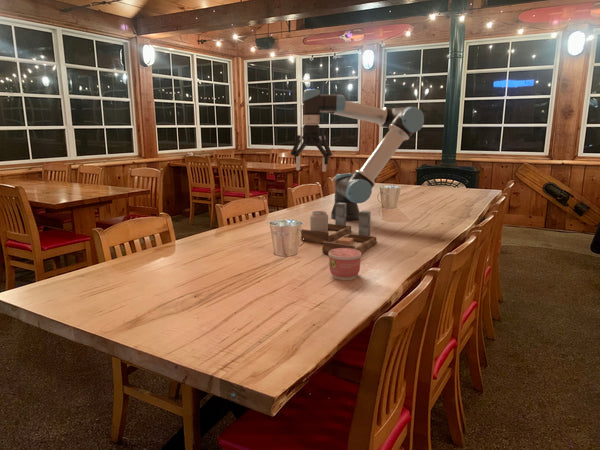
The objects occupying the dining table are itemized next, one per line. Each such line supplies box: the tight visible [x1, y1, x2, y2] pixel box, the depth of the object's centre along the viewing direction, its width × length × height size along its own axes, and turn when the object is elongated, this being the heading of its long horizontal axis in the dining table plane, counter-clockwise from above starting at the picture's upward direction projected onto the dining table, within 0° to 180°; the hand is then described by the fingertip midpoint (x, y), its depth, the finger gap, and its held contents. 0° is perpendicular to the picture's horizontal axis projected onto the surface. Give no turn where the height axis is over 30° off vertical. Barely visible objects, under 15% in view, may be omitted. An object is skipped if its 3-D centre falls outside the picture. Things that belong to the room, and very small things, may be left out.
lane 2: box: [322, 210, 378, 255], centre depth 173 cm, size 28×12×12 cm, turn 150°
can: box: [309, 210, 329, 233], centre depth 185 cm, size 8×8×12 cm
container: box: [328, 248, 362, 281], centre depth 140 cm, size 10×10×8 cm
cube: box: [337, 236, 354, 245], centre depth 168 cm, size 5×5×5 cm
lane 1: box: [300, 203, 352, 244], centre depth 192 cm, size 28×12×12 cm, turn 150°
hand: (311, 170), depth 205 cm, fingers open, 13 cm apart
